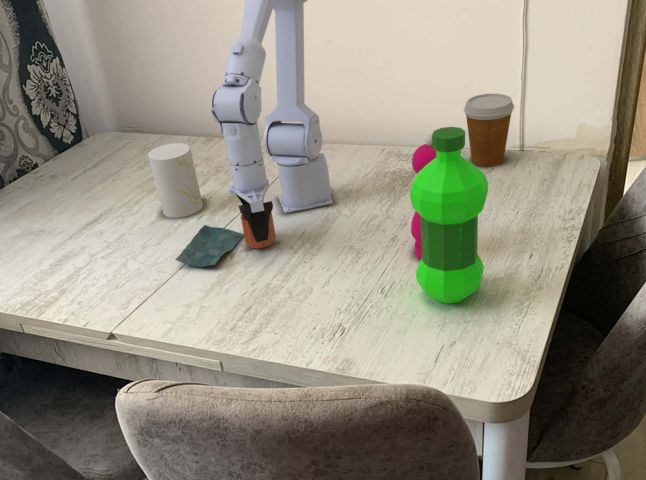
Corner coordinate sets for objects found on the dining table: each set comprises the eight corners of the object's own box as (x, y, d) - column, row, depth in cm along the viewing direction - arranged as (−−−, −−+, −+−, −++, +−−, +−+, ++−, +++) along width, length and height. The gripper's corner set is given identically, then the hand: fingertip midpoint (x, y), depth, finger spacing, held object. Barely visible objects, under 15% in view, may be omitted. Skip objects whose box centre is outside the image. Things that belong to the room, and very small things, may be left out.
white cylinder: (195, 217, 143) (181, 159, 136) (157, 218, 145) (141, 160, 138) (208, 198, 149) (195, 142, 142) (171, 200, 151) (156, 144, 144)
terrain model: (206, 232, 136) (204, 223, 135) (244, 236, 134) (243, 227, 133) (175, 268, 127) (173, 258, 126) (216, 272, 125) (214, 263, 123)
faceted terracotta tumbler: (273, 231, 132) (268, 204, 129) (278, 244, 128) (273, 218, 125) (244, 237, 132) (238, 211, 129) (248, 251, 127) (242, 224, 124)
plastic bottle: (411, 279, 114) (404, 123, 100) (479, 273, 113) (483, 115, 99) (417, 315, 106) (411, 151, 92) (491, 309, 105) (496, 142, 91)
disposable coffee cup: (475, 148, 153) (476, 91, 146) (519, 154, 148) (522, 94, 141) (455, 166, 147) (455, 107, 140) (500, 172, 142) (502, 111, 135)
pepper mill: (428, 268, 117) (425, 148, 105) (403, 250, 122) (397, 135, 110) (465, 253, 119) (465, 134, 107) (438, 237, 124) (436, 122, 113)
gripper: (218, 148, 126) (232, 219, 134) (226, 180, 115) (242, 255, 123) (258, 141, 127) (270, 212, 135) (270, 171, 115) (282, 247, 123)
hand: (259, 232), depth 129 cm, fingers closed on faceted terracotta tumbler, 5 cm apart
